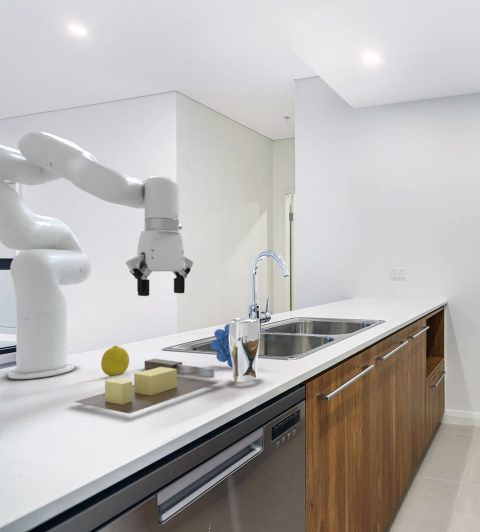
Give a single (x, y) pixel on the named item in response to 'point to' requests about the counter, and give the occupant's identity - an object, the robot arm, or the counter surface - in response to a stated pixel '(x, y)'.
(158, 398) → the board
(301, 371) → the counter surface
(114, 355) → the lemon
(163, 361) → the knife
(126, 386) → the butter slice
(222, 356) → the grapes
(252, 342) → the beer glass
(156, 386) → the butter block
